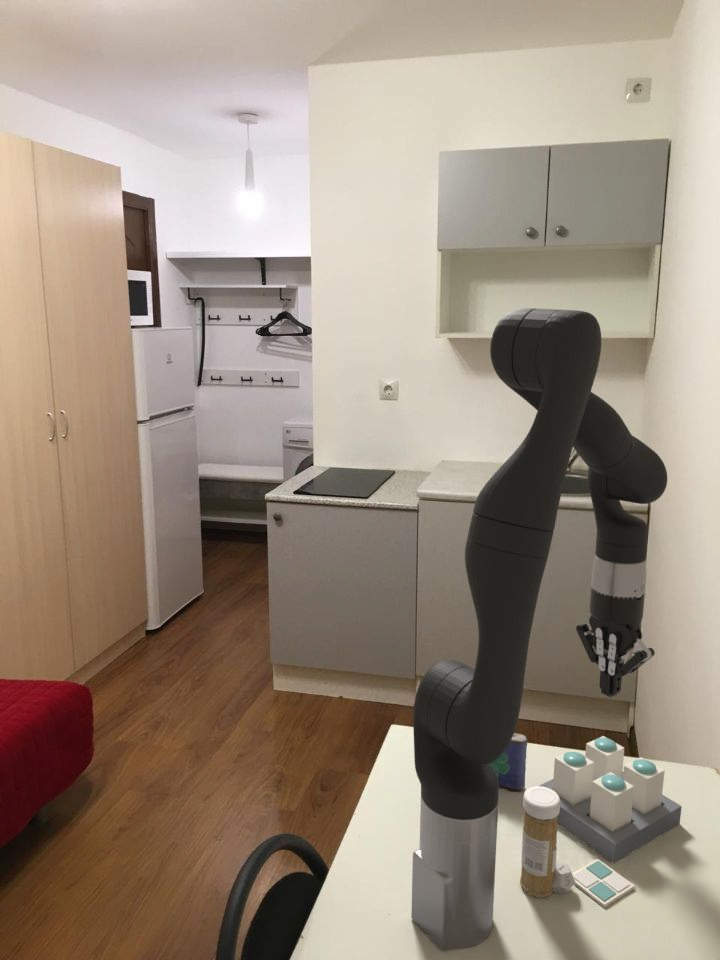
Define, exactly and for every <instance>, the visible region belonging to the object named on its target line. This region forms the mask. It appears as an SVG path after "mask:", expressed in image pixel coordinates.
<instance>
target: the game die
mask: <svg viewBox="0 0 720 960" xmlns="http://www.w3.org/2000/svg"><path fill="white" fill-rule="evenodd" d="M572 873H573V872H572V870H571V869H570V867H569V865H568V864H566V863H561V862H556V868H555V877H554V881H553V885H552V888H553V889H554V891H553V893H556V894H561V895H566V894H567V893H568V892H569V891H570V890H571V888H572V887H573V886H574V885H575V884H574V883H575V880H574V877H573V875H572Z"/></svg>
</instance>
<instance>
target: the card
mask: <svg viewBox="0 0 720 960" xmlns="http://www.w3.org/2000/svg"><path fill="white" fill-rule="evenodd" d="M571 873H572V875H573V877H574V880H575V883H574V884H573V885H575V886H576V887H578V889H580V890H581V891H583V892H584V893H585V894H586V895H588V897H590V898H591V899H593V900H594V901H595V902H596V903H598V904H599V905H601V906H602V907H603V908H606V907H608V906H609V905H610V904H612V903H614V902H615V901H616V900H618V899H620V898H621V897H623V896H625V895H627V894H628V893H629V892H631V891H632V890H634V889H635V884H633V883H632V882H630V881H629V880H628V879H626V878H625V877H623V876H622V875H621V874H619V873H618V872H616V871H615V870H613V869H612V868H611V867H610V866H608V865H607V864H605V863H604V862H603V861H601V860H600V859H598V858H597V859H595V860H592V861H591V862H590V863H588V864H586V865H584V866H582V867H581V868H579V869H578V870H576V871H574V872H571Z"/></svg>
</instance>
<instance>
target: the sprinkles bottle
mask: <svg viewBox="0 0 720 960" xmlns="http://www.w3.org/2000/svg"><path fill="white" fill-rule="evenodd" d="M522 801H523V802H522V804H523V805H522V806H523V812H524V813H523V826H522V841H521V874H520V879H519V882H520V884H519V885H520V886H521V888H522V889H523V892H525V893H527V894H528V895H530V896H533V897H536V898H546V897H550V896H551V895H553V893H554V889H553V888H552V885H553V881H554V877H555V868H556V863H557V850H558V847H557V839H558V837H557V835H558V815H559V812H560V798H559V796H558V794H557V793H556V792H555V791H553V790H551V789H549V788H546V787H541V786H539V785H538V786H537V785H536V786H532V787H528V788H527V789H526V790H524V794H523V800H522Z"/></svg>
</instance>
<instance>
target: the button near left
mask: <svg viewBox="0 0 720 960" xmlns="http://www.w3.org/2000/svg"><path fill="white" fill-rule="evenodd" d="M553 767H554V768H553V778H552V779H553V791H555V792H556V793H557V794H558V796H559V797H560V798H561V799H563V800H564V801H566V802H567V803H569V804H570V805H572V806H573V807H574V806H576V805H578V804H580V803H582V802H584V801H586V800H588V799H590V798H591V792H592V781H593V770H594V762H593V761H591V760H590V759H588V758H586V757H585V754H584V755H583V754H582V753H580V752H578V751H576V750H575V749H572V750H569V751H566V752H565V753H562V754H560V755H558V756H556V757H554V765H553Z"/></svg>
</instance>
